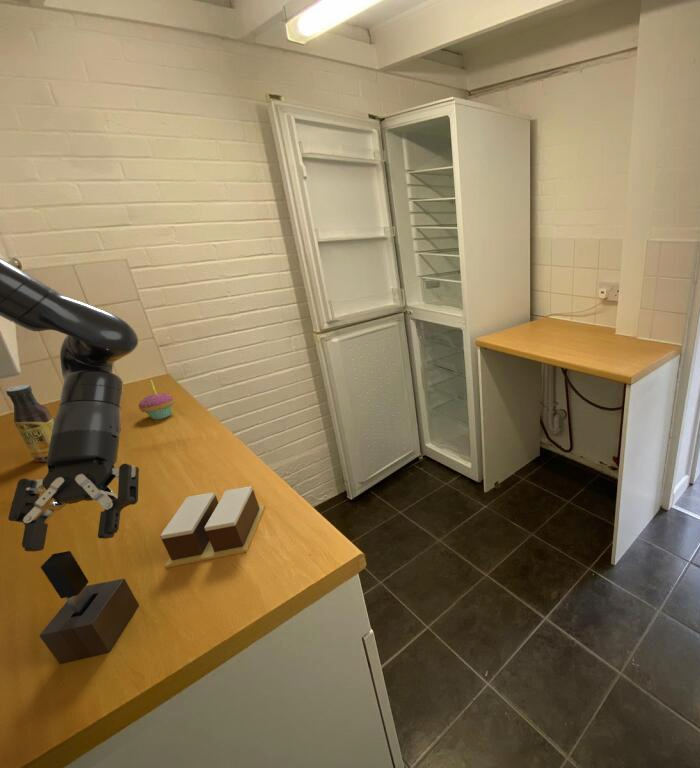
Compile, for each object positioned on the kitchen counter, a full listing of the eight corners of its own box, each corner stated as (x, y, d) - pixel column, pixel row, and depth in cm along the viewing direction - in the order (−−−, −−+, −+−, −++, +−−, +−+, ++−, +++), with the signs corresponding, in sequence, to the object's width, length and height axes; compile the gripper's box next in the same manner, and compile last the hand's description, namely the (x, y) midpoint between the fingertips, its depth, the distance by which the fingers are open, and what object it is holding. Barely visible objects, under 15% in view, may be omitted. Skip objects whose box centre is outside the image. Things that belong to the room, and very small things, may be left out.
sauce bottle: (28, 464, 106) (-14, 393, 98) (52, 450, 112) (14, 383, 104) (54, 463, 106) (15, 392, 99) (77, 449, 112) (41, 382, 104)
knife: (100, 625, 64) (54, 552, 58) (115, 622, 64) (71, 548, 58) (87, 643, 61) (38, 568, 55) (103, 640, 62) (56, 565, 56)
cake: (196, 519, 85) (185, 494, 83) (265, 506, 88) (257, 482, 86) (165, 568, 74) (152, 540, 71) (246, 552, 77) (236, 525, 74)
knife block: (95, 614, 66) (78, 587, 63) (139, 605, 67) (124, 578, 65) (59, 664, 59) (38, 635, 56) (109, 652, 60) (91, 624, 58)
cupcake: (151, 412, 132) (136, 377, 127) (182, 407, 134) (169, 373, 130) (139, 425, 124) (123, 388, 119) (173, 419, 127) (159, 383, 122)
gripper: (7, 436, 60) (-19, 555, 54) (124, 421, 63) (110, 532, 58) (51, 448, 67) (32, 555, 61) (154, 434, 70) (145, 534, 65)
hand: (70, 544), depth 59 cm, fingers open, 8 cm apart
